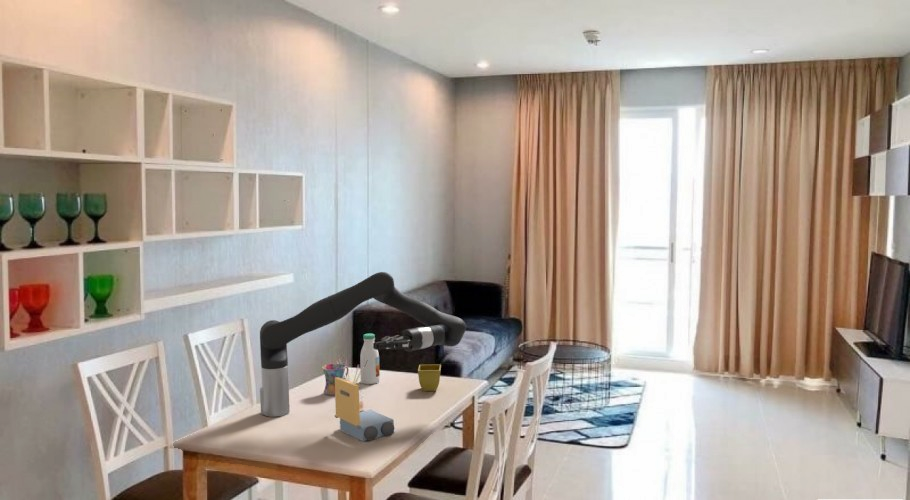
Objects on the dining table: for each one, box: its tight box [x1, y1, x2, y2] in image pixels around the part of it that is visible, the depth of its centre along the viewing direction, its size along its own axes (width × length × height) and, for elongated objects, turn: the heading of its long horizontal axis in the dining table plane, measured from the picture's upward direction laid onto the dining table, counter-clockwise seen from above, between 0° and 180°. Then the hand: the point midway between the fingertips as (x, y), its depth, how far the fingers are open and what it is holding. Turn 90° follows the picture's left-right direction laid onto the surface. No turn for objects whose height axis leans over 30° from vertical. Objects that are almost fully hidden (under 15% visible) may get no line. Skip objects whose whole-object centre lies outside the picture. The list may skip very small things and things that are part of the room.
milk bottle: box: [359, 333, 381, 385], centre depth 297 cm, size 8×8×20 cm
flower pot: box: [417, 364, 442, 392], centre depth 286 cm, size 9×9×9 cm
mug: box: [321, 363, 349, 396], centre depth 284 cm, size 12×9×11 cm
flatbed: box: [339, 409, 395, 442], centre depth 239 cm, size 12×16×4 cm
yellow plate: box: [334, 377, 361, 429], centre depth 234 cm, size 2×15×14 cm, turn 39°
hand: (374, 346), depth 239 cm, fingers closed
